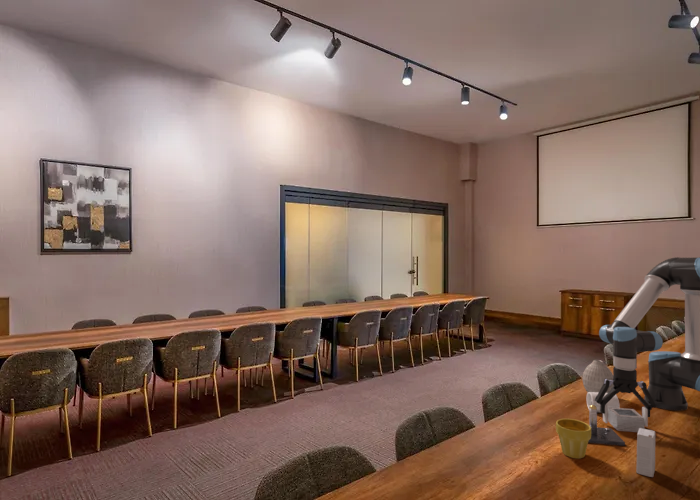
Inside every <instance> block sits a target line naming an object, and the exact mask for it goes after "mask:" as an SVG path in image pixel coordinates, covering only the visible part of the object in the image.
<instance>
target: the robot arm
mask: <svg viewBox="0 0 700 500" xmlns="http://www.w3.org/2000/svg"><path fill="white" fill-rule="evenodd" d="M643 278H644V282H643V283H642V284H641V286H640V287H639V289H637V290H636V292H635V294H634V295H633V296H632V298H631V299H630V300H629V301H628V302H627V303H626V305H625V306H624V308H622V310H621V311H620V313H618V315H617V317H616V318H615V319H614V320H613V322H612V323H611V324H605V325H602V326H601V327H600V328H599V331H598V335H599V338H600V339H601V340H602V341H603V342H605V343H607V344H610V345H612V346H613V347H612V348H613V350H612V351H613V353H612V354H613V355H612V356H613V357H612V358H613V359H612V360H613V368H612V370H613V372H612V374H613V380H608V379H606V378H605V379H604V384H603V386H602V387H601V389H600V391H599V393H598V394H597V396H596V398H595V401H596V402H597V403H599V404H600V412H601V414H602V422H604V423H605V424H608V423H609V422H608V406H607V405H606V404H607V403H608V402H609V401H610V400H611V399H612V398H613V397H614V396H615V395H617V394H619V393H623V394H631V393H632V394H633V395H634V396H635V397H636V398H637V400H639V402H640V403H641V404H642V405H643V406H642V407H641V416H643V417H644V428H645V427H646V428H648V426H649V425H648V423H649V419H648V418H651V410H652V409H655V408H658V409H661V410H668V411H678V412H679V411H680V412H681V411H686V410H688V405H689V404H688V402H687V398H686V396H685V393H684V390H683V387H684V388H687V389H692V390H695V391H698V392H700V257H680V256H679V257H678V256H677V257H675V256H674V257H669V258H668V259H665V260H663V261H661V262H659V263H658V264H656V265H655V266H654V267H652V269H650V271H648V272H647V274H645V276H644V277H643ZM675 285H677V286H678V285H679V287H680V288H679V290H680V291H681V292H682V293H684V334H685V335H684V347H685V348H684V352H683V353H681V352H678V351H668V350H667V351H666V350H665V351H663V350H662V351H659V350H660V349H662V346H663V337H662V336H661V335H660V334H659V333H657V332H656V331H650V330H646V331H643V330H639V329H638V330H637V329H636V327H637V326H638V325H639V323H640V322H641V321H642V320H643V318H644V317H645V315H646V314H647V313H648V312H649V310H650V309H651V308H652V306H653V305H654V304H655V303H656V301H657V300H658V299H659V297H660V296H661V294H663V292H667V291H668V290H669V289H670V287H672V286H675ZM638 352H639V353H642V352H649V355H648V361H647V362H648V387H647V382H644V381H643V380H640V381H638V380H637V378H638V377H637V376H638V375H637V373H638V372H637V368H638V367H637V366H638V365H637V362H638V361H637V360H638V359H637V356H638V355H637V353H638ZM611 384H613V385H614V387H613V388H612V389H611V390H610V391H609V392H608V393H607V394H606V395H605V393H606V392H607V390H608V388H609V386H610V385H611ZM637 387H639V388H640V389H641V391H642V393H643V395H644V398H643V396H642V395H641V394H640V393H639V391H637ZM604 395H605V396H604Z"/></svg>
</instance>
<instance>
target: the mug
mask: <svg viewBox="0 0 700 500" xmlns="http://www.w3.org/2000/svg"><path fill="white" fill-rule="evenodd" d="M598 393H599V392H587V393H586V399H585V400H586V405H587V408H588V410H589V407H590V405H595V406H596V407H597V413H601V412H600V404H599V403H597V402H596V401H595V398H596V396H597V394H598ZM606 394H607V393H605V395H606ZM605 395H604V396H605ZM606 405H607V406H608V407H610V408H621V407H620V400H619V398H618V395H617V394H616V395H615V396H614V397H613V398H612V399H611V400H610V401H609V402H608V403H607V404H606ZM601 414H602V413H601Z"/></svg>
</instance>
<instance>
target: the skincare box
mask: <svg viewBox="0 0 700 500" xmlns="http://www.w3.org/2000/svg"><path fill="white" fill-rule="evenodd" d="M636 435H637V436H636V437H637V438H636V472H635V473H637V474H639V475H642V476H646V477H649V478H654V474H655V471H656V431H655V430H652V429H646V428H644V429H642V428H639V431H638V432H637V434H636Z"/></svg>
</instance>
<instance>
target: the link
mask: <svg viewBox="0 0 700 500" xmlns="http://www.w3.org/2000/svg"><path fill="white" fill-rule="evenodd" d="M608 423H609V424H610V425H611V426H612V427H613V428H614V429H615V430H616V431H619V432H630V433H638V431H639V428H642V429H645V426H644V417H643V416H642V414H640V413H639V412H637V411H636V409H634V408H625V407H624V408H623V407H620V408H610V407H608Z"/></svg>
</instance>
